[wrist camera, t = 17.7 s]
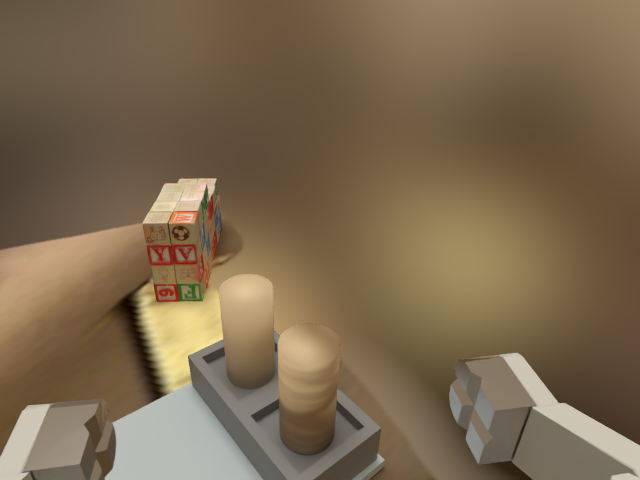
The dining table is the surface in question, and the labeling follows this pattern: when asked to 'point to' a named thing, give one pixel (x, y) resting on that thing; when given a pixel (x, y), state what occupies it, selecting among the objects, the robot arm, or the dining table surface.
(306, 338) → the beech post
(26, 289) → the dining table surface
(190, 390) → the grey socket tray board
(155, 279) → the stack of blocks
